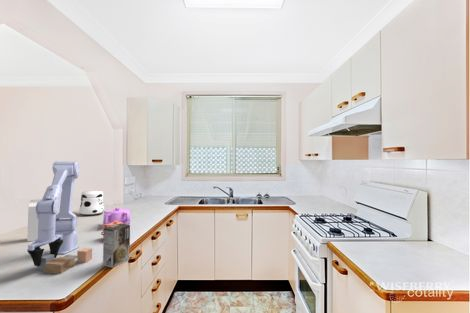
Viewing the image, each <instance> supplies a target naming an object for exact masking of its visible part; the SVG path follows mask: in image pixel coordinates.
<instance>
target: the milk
mask: <svg viewBox="0 0 470 313" xmlns="http://www.w3.org/2000/svg"><path fill="white" fill-rule="evenodd" d="M41 200H42V199H30V201H29V205H28V208H27V209H28V211H27V212H28V213H27V237H26V238H27V241H26V242H35V241H36V239H38V219H37V213H36V205H37V203H38V202H39V201H41Z"/></svg>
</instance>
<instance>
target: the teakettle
mask: <svg viewBox="0 0 470 313" xmlns="http://www.w3.org/2000/svg"><path fill="white" fill-rule="evenodd" d="M130 212H131V209H129V208H128V209H127V208H126V209H125V208H120V207H117V206H116V207H115V208H114V209H110V210H105V211H103V221H102V226H103V225H104V224H110V223H113V221H118V222H122V223H123V224H126V225H131V213H130ZM106 227H107V225H105V226H104V228H106Z"/></svg>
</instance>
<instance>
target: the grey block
mask: <svg viewBox="0 0 470 313" xmlns="http://www.w3.org/2000/svg"><path fill="white" fill-rule="evenodd" d="M53 259H55V258H54V254H50V253H45V254H42V259H41V265H40V266H36V271H45V263H47V262H49V261H51V260H53Z"/></svg>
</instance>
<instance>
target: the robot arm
mask: <svg viewBox="0 0 470 313" xmlns="http://www.w3.org/2000/svg"><path fill="white" fill-rule="evenodd" d="M79 164H80V163H79V162H78V161H62V160H61V161H59V160H55V161H54V162H53V163H52V172H53V175H54V176H53V179H52V182H51V185H49V186H47V188H46V189H45V191H44V194H43V196H42V199H40V200H41V201H39V202H38V203H37V205H36V213H37V219H38V239H36V241H33V242H32V243H31V244H28V245H27V253H28V254H29V256H30V257H31V260H32V262H33V265H34V266H35V267H37V266H40V265H41V259H42V255H44V254H43V253H44V251H45V248H41V247H42V246H45V245H48V246H49V254H54V259H56V258H58V254H59V255H65V254H66V255H67V254H68V253H69V252H72V251H74V250H76V249H78V248H79V247H80V246H78V240H79V238H78V237H79V236H78V233H77V231H76V230H77V228H78V227H77V226H78V217H77V215H76V214H75V213H73V212H72V207H73V206H72V202H73V193H74V183H75V180H76V179H78V178H79V175H80V165H79Z"/></svg>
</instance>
